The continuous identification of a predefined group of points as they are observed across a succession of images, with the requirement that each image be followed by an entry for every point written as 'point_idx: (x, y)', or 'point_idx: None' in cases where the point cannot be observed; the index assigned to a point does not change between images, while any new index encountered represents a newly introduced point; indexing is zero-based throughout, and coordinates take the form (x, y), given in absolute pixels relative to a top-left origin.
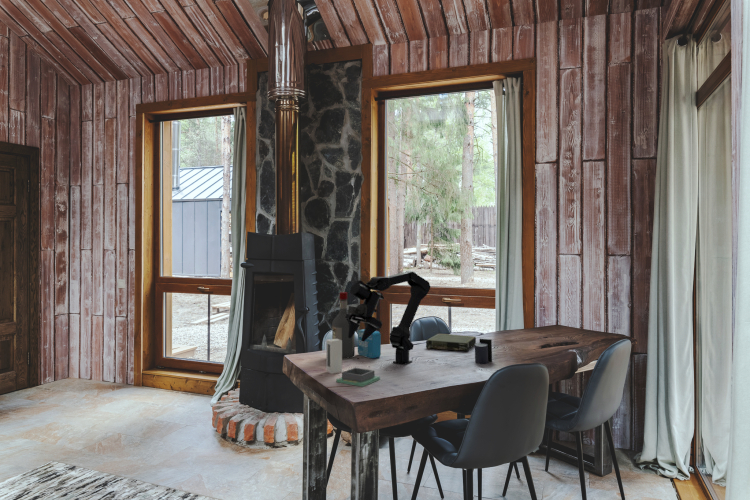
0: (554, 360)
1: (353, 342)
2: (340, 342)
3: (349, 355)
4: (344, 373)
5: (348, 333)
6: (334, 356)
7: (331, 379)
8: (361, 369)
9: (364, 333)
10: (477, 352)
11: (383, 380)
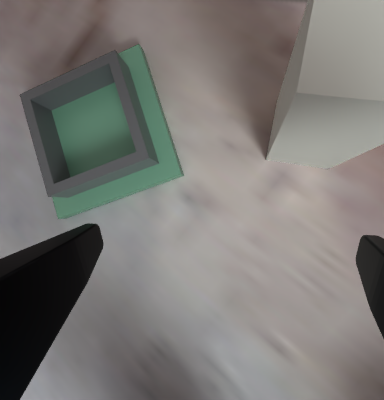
0: None
1: None
2: (296, 83)
3: None
4: (103, 58)
5: None
6: (286, 80)
7: (190, 53)
8: (106, 164)
9: (5, 260)
10: None
11: (46, 218)
